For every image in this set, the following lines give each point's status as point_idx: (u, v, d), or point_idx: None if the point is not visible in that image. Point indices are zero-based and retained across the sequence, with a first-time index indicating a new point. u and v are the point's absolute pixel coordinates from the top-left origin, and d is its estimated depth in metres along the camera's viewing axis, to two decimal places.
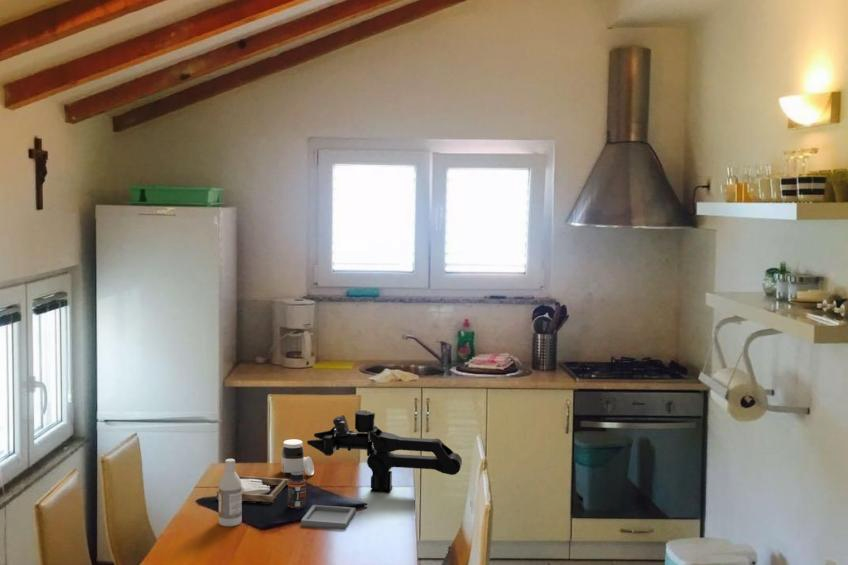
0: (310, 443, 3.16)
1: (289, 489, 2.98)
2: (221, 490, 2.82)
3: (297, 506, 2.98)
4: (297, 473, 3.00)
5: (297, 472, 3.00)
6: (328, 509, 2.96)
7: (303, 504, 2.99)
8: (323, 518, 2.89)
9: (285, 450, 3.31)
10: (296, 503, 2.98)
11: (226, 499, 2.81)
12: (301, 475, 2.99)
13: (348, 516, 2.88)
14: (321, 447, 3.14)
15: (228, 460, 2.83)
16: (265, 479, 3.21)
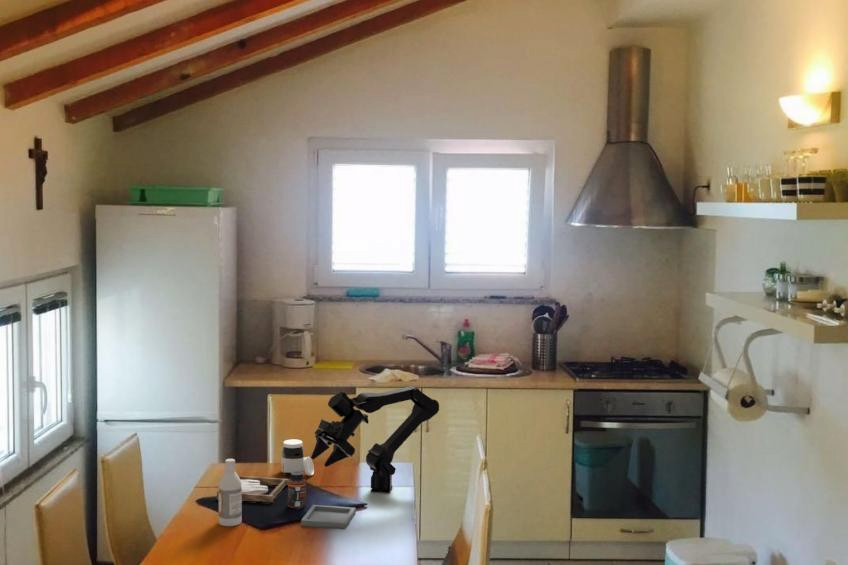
0: (328, 464, 3.00)
1: (289, 489, 2.98)
2: (221, 490, 2.82)
3: (297, 506, 2.98)
4: (297, 473, 3.00)
5: (297, 472, 3.00)
6: (328, 509, 2.96)
7: (303, 504, 2.99)
8: (323, 518, 2.89)
9: (285, 450, 3.31)
10: (296, 503, 2.98)
11: (226, 499, 2.81)
12: (301, 475, 2.99)
13: (348, 516, 2.88)
14: (339, 456, 3.01)
15: (228, 460, 2.83)
16: (265, 479, 3.21)
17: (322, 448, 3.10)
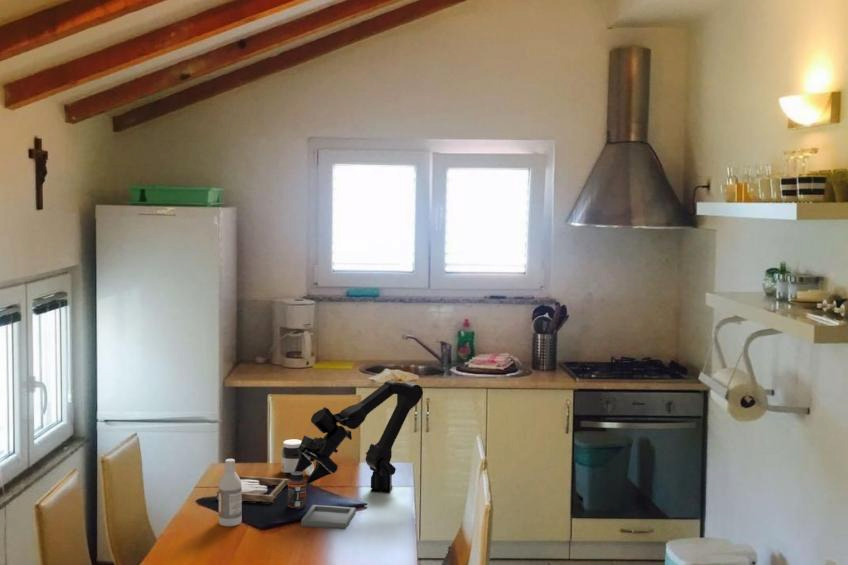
0: (310, 481, 2.97)
1: (289, 489, 2.98)
2: (221, 490, 2.82)
3: (297, 506, 2.98)
4: (297, 473, 3.00)
5: (297, 472, 3.00)
6: (328, 509, 2.96)
7: (303, 504, 2.99)
8: (323, 518, 2.89)
9: (285, 450, 3.31)
10: (296, 503, 2.98)
11: (226, 499, 2.81)
12: (301, 475, 2.99)
13: (348, 516, 2.88)
14: (322, 473, 2.98)
15: (228, 460, 2.83)
16: (265, 479, 3.21)
17: (305, 464, 3.07)
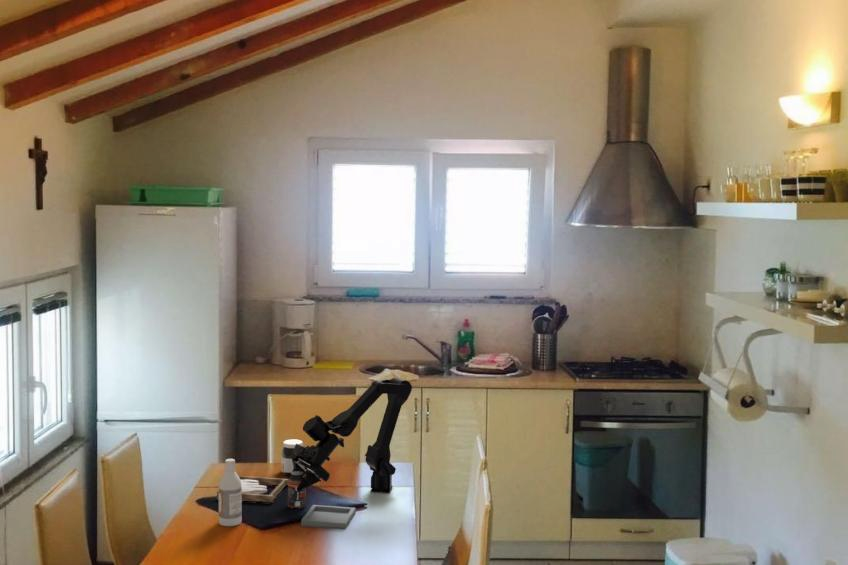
0: (300, 488, 2.97)
1: (289, 489, 2.98)
2: (221, 490, 2.82)
3: (297, 506, 2.98)
4: (297, 472, 3.00)
5: (297, 472, 3.00)
6: (328, 509, 2.96)
7: (303, 504, 2.99)
8: (323, 518, 2.89)
9: (285, 450, 3.31)
10: (296, 503, 2.98)
11: (226, 499, 2.81)
12: (301, 475, 2.99)
13: (348, 516, 2.88)
14: (312, 480, 2.98)
15: (228, 460, 2.83)
16: (265, 479, 3.21)
17: None
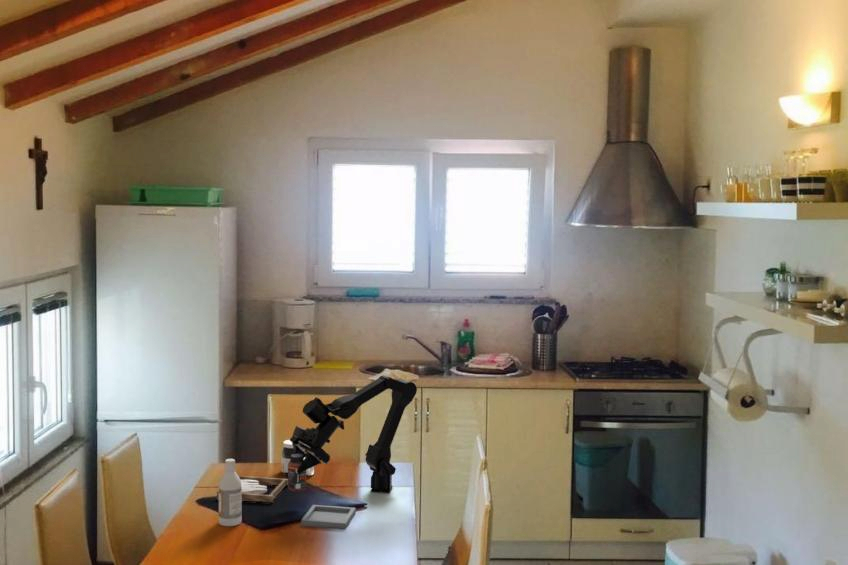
0: (300, 470, 2.96)
1: (289, 471, 2.98)
2: (221, 490, 2.82)
3: (297, 488, 2.97)
4: (298, 455, 2.99)
5: (297, 455, 2.99)
6: (328, 509, 2.96)
7: (303, 486, 2.99)
8: (323, 518, 2.89)
9: (285, 450, 3.31)
10: (297, 485, 2.97)
11: (226, 499, 2.81)
12: (301, 457, 2.98)
13: (348, 516, 2.88)
14: (312, 462, 2.97)
15: (228, 460, 2.83)
16: (265, 479, 3.21)
17: None
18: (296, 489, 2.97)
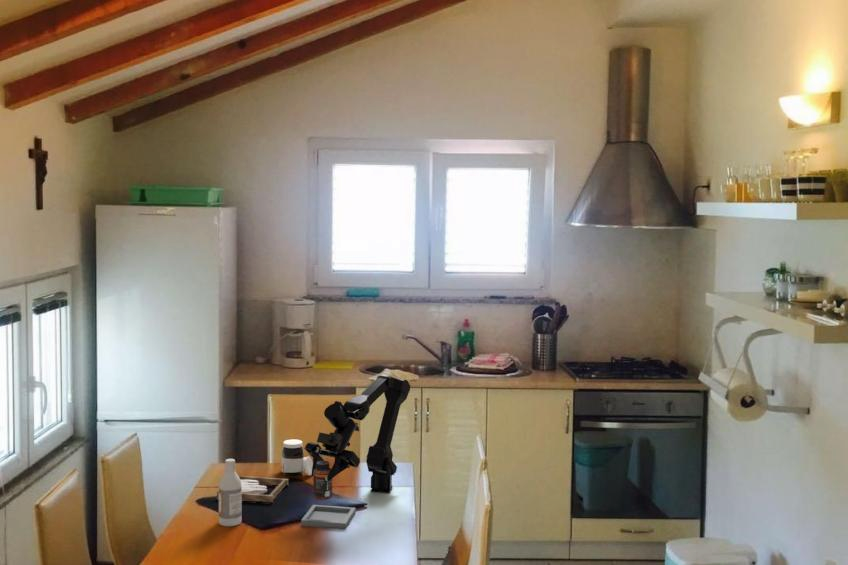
0: (331, 477, 2.88)
1: (318, 480, 2.88)
2: (221, 490, 2.82)
3: (327, 496, 2.88)
4: (323, 462, 2.90)
5: (322, 462, 2.90)
6: (328, 509, 2.96)
7: (331, 493, 2.90)
8: (323, 518, 2.89)
9: (285, 450, 3.31)
10: (326, 493, 2.88)
11: (226, 499, 2.81)
12: (328, 464, 2.89)
13: (348, 516, 2.88)
14: (340, 467, 2.90)
15: (228, 460, 2.83)
16: (265, 479, 3.21)
17: None
18: (326, 497, 2.88)
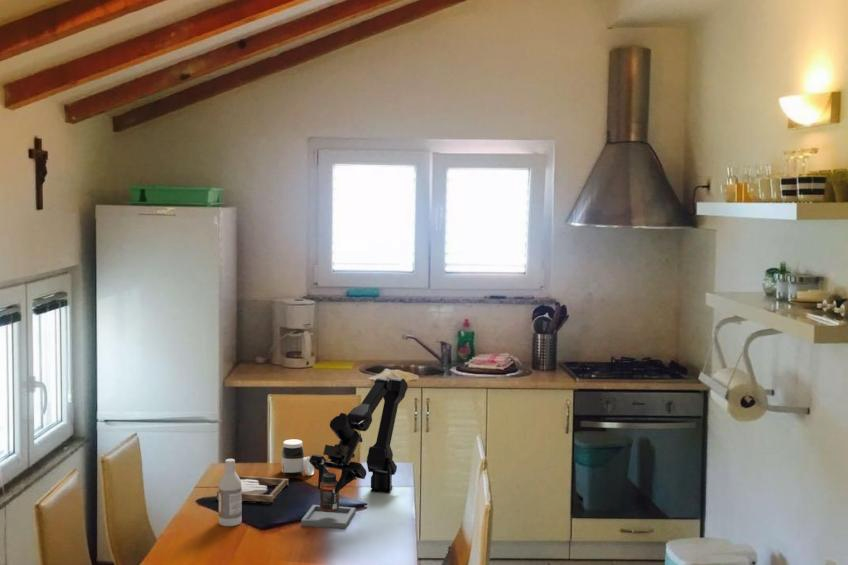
0: (338, 489, 2.87)
1: (325, 492, 2.87)
2: (221, 490, 2.82)
3: (334, 509, 2.88)
4: (330, 474, 2.89)
5: (329, 474, 2.89)
6: None
7: (338, 506, 2.90)
8: (323, 518, 2.89)
9: (285, 450, 3.31)
10: (334, 506, 2.87)
11: (226, 499, 2.81)
12: (335, 476, 2.89)
13: (348, 516, 2.88)
14: (347, 479, 2.90)
15: (228, 460, 2.83)
16: (265, 479, 3.21)
17: None
18: (333, 509, 2.87)
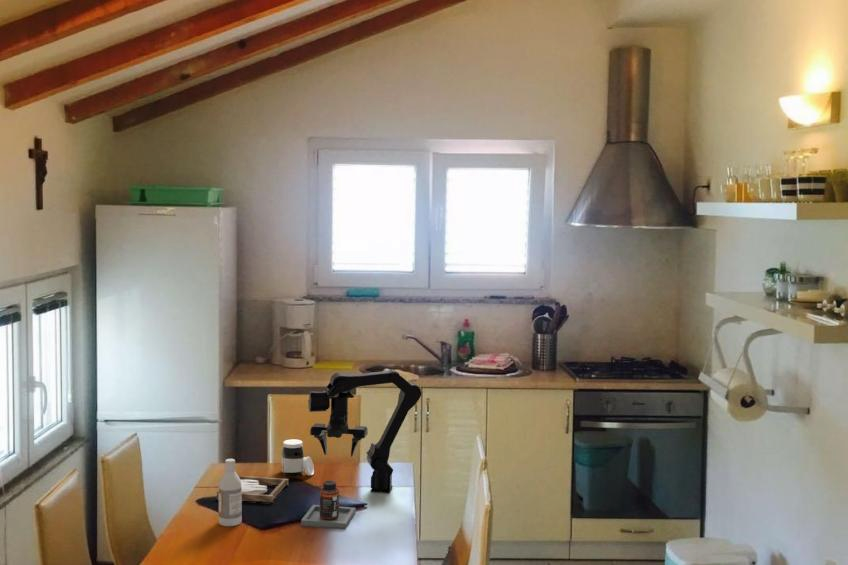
0: (353, 453, 3.13)
1: (325, 500, 2.87)
2: (221, 490, 2.82)
3: (334, 516, 2.88)
4: (330, 482, 2.89)
5: (329, 482, 2.89)
6: None
7: (338, 513, 2.90)
8: None
9: (285, 450, 3.31)
10: (334, 513, 2.88)
11: (226, 499, 2.81)
12: (335, 484, 2.89)
13: (348, 516, 2.88)
14: None
15: (228, 460, 2.83)
16: (265, 479, 3.21)
17: (325, 439, 3.15)
18: (333, 517, 2.88)
